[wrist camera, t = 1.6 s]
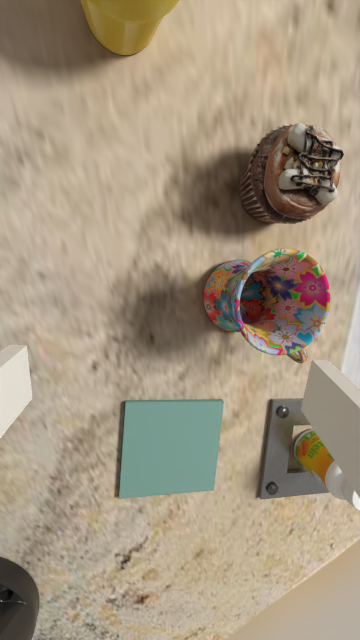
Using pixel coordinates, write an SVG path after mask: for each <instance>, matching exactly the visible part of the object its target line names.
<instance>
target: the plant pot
mask: <svg viewBox="0 0 360 640" xmlns="http://www.w3.org/2000/svg"><path fill="white" fill-rule="evenodd" d="M80 1H81V4H82V7H83V10H84V13H85V16H86V19H87V22H88V25H89V27H90V29H91V31H92V33H93V35H94V36H95V37H96V39H97V40H98V41H99V42H100V43H101V44H102V45H103V46H104V47H105V48H107V49H108V50H110V51H112V52H114V53H116V54H120V55H132V54H136V53H138V52H140V51H141V50H143V49H144V48H145V47H146V46H147V45H148V44H149V42H150V41H151V39H152V37H153V35H154V33H155V31H156V29H157V27H158V26H159V24H160V22H161V20H162V18H163V16H165V15H166V14H168V13H169V12H170V11H171V10H172V9H173V8H174V7H175V6H176V4H177V3H178V1H179V0H80Z"/></svg>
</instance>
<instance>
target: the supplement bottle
mask: <svg viewBox="0 0 360 640" xmlns="http://www.w3.org/2000/svg"><path fill="white" fill-rule="evenodd" d="M294 455H295V458H296V459H297V461H298V462H299V463H300V464H301V465H302V466H303V467H304V468H305V469H306V470H307V471H308V472H309V473H310V474H311V475H312V476H313V477H314V478H315V479H316V480H317V481H318V482H320V483H321V484H322V485H323V486H324V487H325V488H326V489H327V490H328V491H329V492H330V493H331V494H332V495H333V496H335V497H336V498H339V499H343V500H347V501H348V502H349V503H350V504H351V505H352V506H353V507H355V508H356V509H357V510H360V498H359V497H358V495H357V494H356V492H355V491H354V489H353V488H352V486H351V485H350V483H349V482H348V480H347V479H346V477H345V476H344V474H343V472H342V471H341V469H340V468H339V466H338V465H337V463H336V462H335V460H334V459H333V457H332V456H331V454H330V453H329V451H328V450H327V448H326V447H325V445H324V444H323V442H322V441H321V439H320V438H319V436H318V435H317V433H316V432H315V430H314V429H310V430H307V431H305V432H303V433H302V434H301V435H300V436H299V437H298V438H297V440H296V442H295V445H294Z"/></svg>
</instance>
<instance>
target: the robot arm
mask: <svg viewBox="0 0 360 640" xmlns="http://www.w3.org/2000/svg"><path fill="white" fill-rule="evenodd" d="M31 399H32V389H31V380H30V371H29V362H28V353H27V345H8V346H7V347H6V348H4V349H3V350H2V351H0V438H1V437H2V435H3V434H4V433H5V432H6V430H7V429H8V428H9V427H10V425H11V424H12V423H13V422H14V420H15V419H16V418H17V417H18V416H19V414H20V413H21V412H22V411H23V409H24V408H25V407H26V406H27V404H28V403H29V402H30V401H31ZM301 411H302V412H303V414H304V415H305V417H306V418H307V420H308V421H309V423H310V424H311V426H312V427H313V429H314V430H315V432H316V433H317V435H318V436H319V438H320V439H321V441H322V442H323V444H324V445H325V447H326V448H327V450H328V451H329V453H330V454H331V456H332V457H333V459H334V460H335V462H336V463H337V465H338V466H339V468H340V469H341V471H342V472H343V474H344V476H345V477H346V479H347V480H348V482H349V483H350V485H351V486H352V488H353V489H354V491H355V492H356V494H357V495H358V497H359V498H360V389H359V388H358V387H357V386H356V385H355V384H353V383H352V382H351V381H350V380H349V379H348V378H347V377H346V376H345V375H344V374H342V373H341V372H340V371H339V370H338V369H337V368H336V367H335V366H334V365H333V364H332V363H330V362H329V361H328V360H312V362H311V367H310V371H309V375H308V380H307V384H306V389H305V393H304V398H303V402H302V407H301ZM38 611H39V593H38V589H37V586H36V584H35V582H34V580H33V579H32V577H31V576H30V575H29V574H28V573H27V572H26V571H25V570H24V569H23V568H22V567H20V566H19V565H17V564H16V563H14V562H12V561H9V560H7V559H4V558H1V557H0V640H31V639H32V637H33V634H34V630H35V626H36V621H37V616H38Z"/></svg>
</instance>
